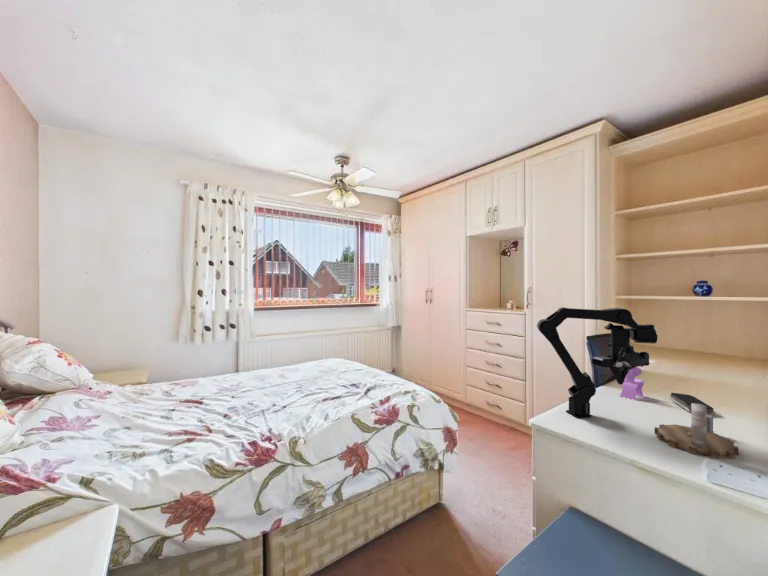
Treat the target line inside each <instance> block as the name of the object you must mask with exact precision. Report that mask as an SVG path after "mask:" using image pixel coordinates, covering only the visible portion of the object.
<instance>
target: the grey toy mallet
mask: <svg viewBox="0 0 768 576" xmlns="http://www.w3.org/2000/svg"><path fill="white" fill-rule="evenodd" d="M706 431H708V432H712V433H714V415H713V416H711V415H707V414H706Z"/></svg>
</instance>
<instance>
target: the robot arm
mask: <svg viewBox="0 0 768 576" xmlns="http://www.w3.org/2000/svg"><path fill="white" fill-rule="evenodd" d="M566 319H581V320H582V319H583V320H596V321H597V320H598V321H604V322H608V324H607V325H605V326H603V328H604V330H607V331H610V343H607V347H610V354H607V357H606V356H603V355H602V356H601V355H600V356H598V355H597V356H593V357H592V359H591V364H592V365H595V366H598V367H602V368H609V370H610V372H611V373H612V375H613V377H614V378H615V380H616V382H617V384H618V385H621V384H623V382H624V380H625V378H626V375H627V373H628V372H629V370H631V369H633V368H635V367H640V368H642V367H647V366H650V354H649V353H648V352H647V351H640V352H639V351H638V352H637V351H635V350H634V346H633V345H631V341H633V343H635V344H653V345H654V344H656V343H657V342H658V333H657V331H656V329H655V325H654V324H650V323H649V324H638V323H637V321H635V319H634V318H633V314H632V312H631V311H630V310H629V309H626V308H620V307H612V308H611V307H610V308H604V309H603V308H602V309H590V308H588V309H587V308H571V307H570V308H569V307H560V308H558V309H557V310H556V311H555V312H553V313H552V314H550V315H549V316H547V317H546V318H542V319H540V320H539V321H538V322H537V324H536V327H537V330H538V331H539V332H540V333H541V334H542V335H543V336H544V337H545V338H546V340H547V341H548V342H549V343H550V344H551V346H552V348H553V349H554V351H555V352H556V355H558V357H559V359H560V360H561V362H562V364H563V365H564V367H565V368H566V370H567V371H568V372H569V375H570V378H571V381H572V383H573V385H571V386H570V387H569V388H568V389H567V391H568V393H569V395H570V397H568V409H567V410H565V412H566V413H567V414H569V415H571V416H573V417H575V418H576V419H582V418H583V419H584V418H593V415H592V414H591V403H590V401H591V398H592V397H594V396H595V395H596V393H597V389H596V386H597V385H596V384H595V383H594V382H593V380H592V378H591V376H590V375H589V374H588V373H587V372H586V371H584V372H582V371H581V370H580V368H579V367H578V365H577V363H576V362H575V360H574V359H573V358H572V356H571V354H570V352H569V351H568V350H567V348H566V346H565V345H564V343H563V342H562V341H561V336H560V335H559V332H558V330H557V328H558V327H559V326H561V324H563V323H564V321H565V320H566ZM624 326H626V327H624Z"/></svg>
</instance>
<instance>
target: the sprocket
mask: <svg viewBox="0 0 768 576" xmlns="http://www.w3.org/2000/svg"><path fill="white" fill-rule="evenodd" d="M690 414H691V416H690V418H691V422H690V423H691V426H687V425H685V426H684V425H680V424H659V427H658V426H657V427H656V426H654V435H656V439H657V440H658V441H662V442H663V441H664V443H666V444H668V446H670V447H672V448H673V449H680V450H683V451H686V452H688V453H689V454H692V455H695V456H697V455H701V456H707V457H709V458H712V459H717V460H720V458H727V459H730V460H732V459H736V455H737V456H739V452H740V451H739V446H736V445H735V442H734V441H732V440H731V439H730V438H729V439H727V438H725V437H723V436H721V435H719V434H718V433H716V432H715V433H714V432H713V433H712V432H708V431H706V406H705V405H702V404H697V403H692V404H691V412H690Z"/></svg>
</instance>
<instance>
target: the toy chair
mask: <svg viewBox="0 0 768 576" xmlns="http://www.w3.org/2000/svg"><path fill="white" fill-rule="evenodd" d="M642 371H643V370H642V368H641V367H640V366H637V367H635V368H633V369H631V370H629V372H628V373H627V375H626V378H625V380H624V382H623V384H621V393H620V395H619V397H620V398H623V397H625V398H624V399H627V398H629V400H632V399H633V400H632V401H636V400H638V399H637V397H641V396H642V397H641V398H644V394H643V390H642V389H643V386H644V384H645V382H644V380H642V379H638V378H637V379H636V377H639V375H641V374H642V373H643V372H642ZM637 395H638V396H637Z"/></svg>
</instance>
